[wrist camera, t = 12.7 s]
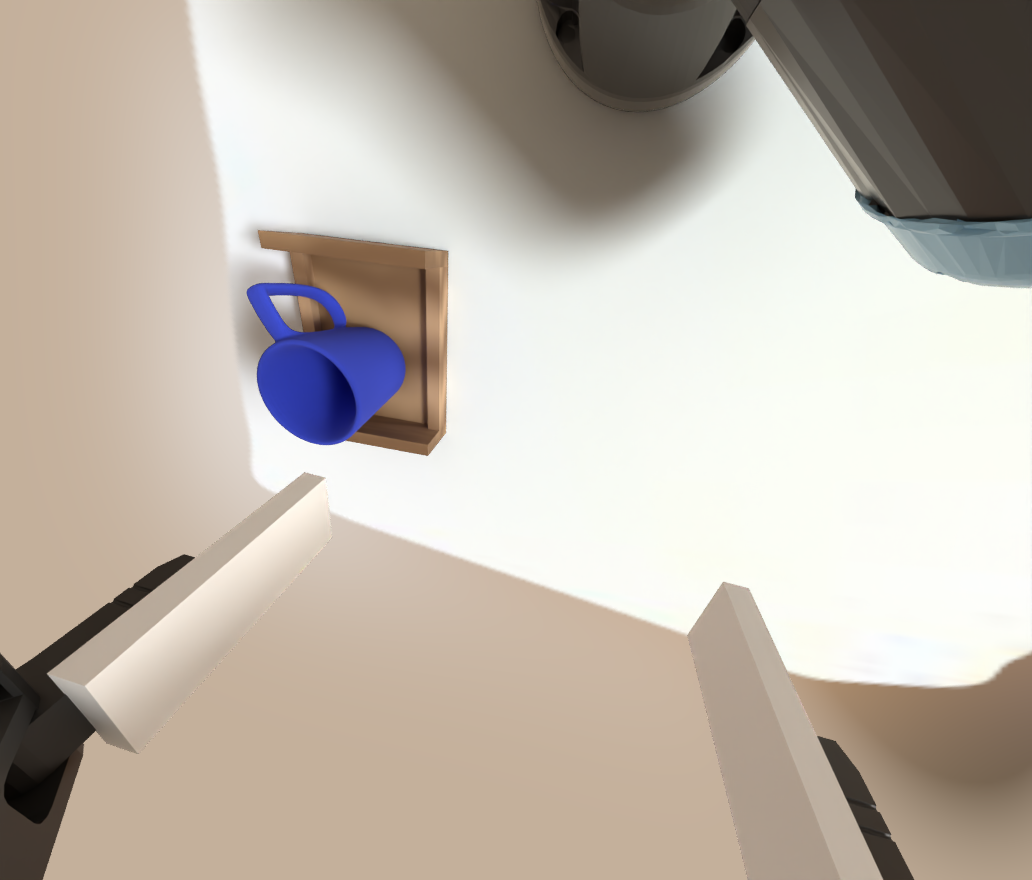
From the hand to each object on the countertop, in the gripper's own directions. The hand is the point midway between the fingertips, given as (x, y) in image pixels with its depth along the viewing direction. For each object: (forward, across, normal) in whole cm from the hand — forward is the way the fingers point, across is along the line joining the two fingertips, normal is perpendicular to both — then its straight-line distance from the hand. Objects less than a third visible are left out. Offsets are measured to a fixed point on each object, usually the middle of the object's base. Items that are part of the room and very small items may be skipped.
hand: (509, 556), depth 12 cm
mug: (+23, -18, -2) cm, 30 cm away
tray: (+24, -18, -2) cm, 30 cm away
